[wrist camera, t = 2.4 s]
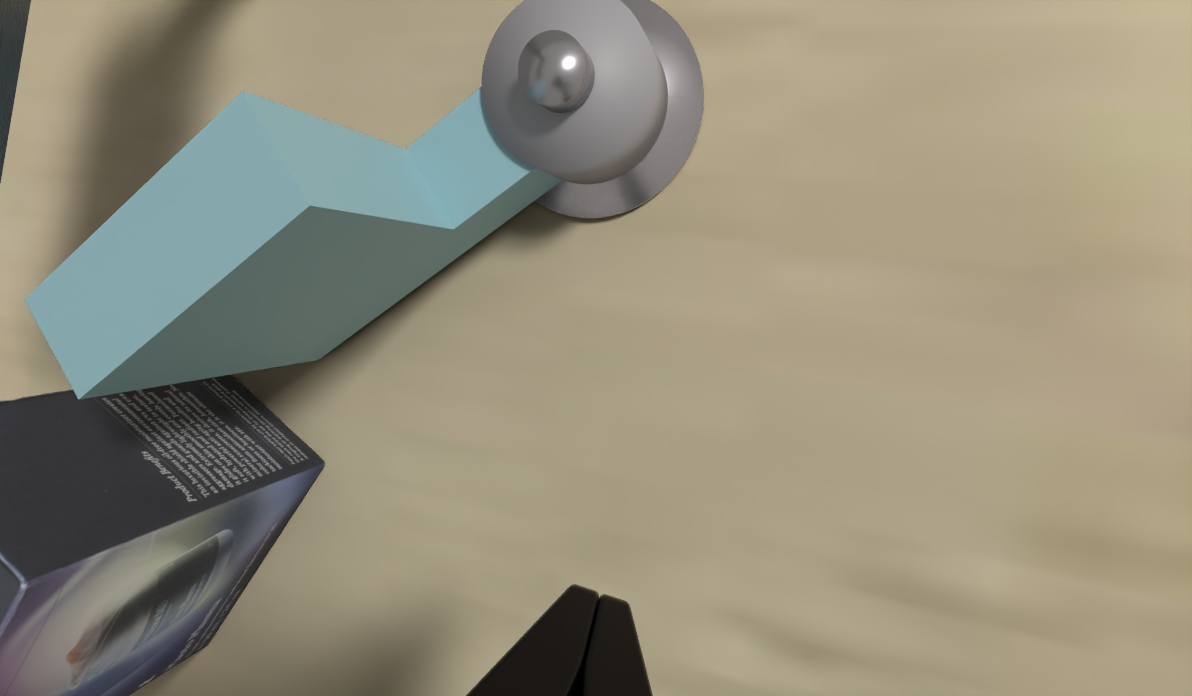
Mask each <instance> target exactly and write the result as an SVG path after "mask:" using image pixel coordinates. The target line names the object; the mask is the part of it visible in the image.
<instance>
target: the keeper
mask: <svg viewBox="0 0 1192 696" xmlns="http://www.w3.org/2000/svg"><path fill="white" fill-rule="evenodd" d="M30 3H31V0H0V182H1V176H2V170H3V164H4V158H5V152H6V146H7V140H8V134H9V128H10V122H11V116H12V110H13V104H14V98H15V92H16V86H17V80H18V74H19V68H20V62H21V56H22V50H23V44H24V38H25V32H26V26H27V20H28V15H29V9H30Z"/></svg>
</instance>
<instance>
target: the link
mask: <svg viewBox="0 0 1192 696" xmlns="http://www.w3.org/2000/svg"><path fill="white" fill-rule="evenodd" d="M548 30H560V31H564V32H566V33H568V34H570V35H571V36H573V37H574V38H575V39H576V40H577V41H578V43H579V44H580V45H581V46H582V47H583V48H584V50H585V51H586V52H587V53H588V55H589V56H590V58H591V60H592V62H593V65H594V70H595V80H594V85H593V88H592V91H591V93H590V95H589V97H588V98H587V99H586V101H585V102H584V103H583V104H582V105H580V106H579V107H578V108H576V109H574V110H572V111H569V112H565V113H555V112H551V111H549V110H547V109H545V108H544V107H542V106H541V105H540V104H538V103H537V102H536V101H534V100H533V99H532V98H530V97H529V96H528V95H527V94H526V93H525V91H524V90H523V88H522V86H521V84H520V81H519V77H518V62H519V58H520V55H521V53H522V51H523V49H524V47H525V46H526V44H527V43H528V42H529V41H530V40H531V39H532V38H533V37H534V36H536V35H537V34H539V33H541V32H544V31H548ZM667 107H668V88H667V81H666V76H665V72H664V70H663V67H662V64H661V62H660V60H659V58H658V56H657V55H656V53H655V51H654V49H653V47H652V45H651V43H650V42H649V40H648V38H647V36H646V34H645V32H644V31H643V29H642V27H641V25H640V23H639V21H638V20H637V18H636V17H635V16H634V14H633V13H632V12H631V10H630V9H629V8H628V7H627V6H626V5H625V4H624V3H623V2H621V1H620V0H525V1H523V2H522V3H521V4H519V5H518V6H517V7H516V8H515V9H514V10H513V11H512V12H511V13H510V14H509V15H508V16H507V17H506V18H505V20H504V21H503V22H502V23H501V25H500V26H499V28H498V30H497V31H496V33H495V35H494V37H493V39H492V41H491V43H490V45H489V48H488V51H487V54H486V57H485V61H484V65H483V72H482V87H480V88H479V89H478V90H477V91H476V92H474V93H473V94H472V95H471V96H469V97H468V98H467V99H466V100H465V101H463V102H462V103H461V104H460V105H459V106H457V107H456V108H455V109H454V110H452V111H451V112H450V113H449V114H448V115H446V116H445V117H444V118H443V119H442V120H440V121H439V122H438V123H437V124H436V125H434V126H433V127H432V128H431V129H429V130H428V131H427V132H426V133H425V134H423V135H422V136H421V137H420V138H419V139H417V140H416V141H415V142H414V143H412V144H411V145H410V146H409V147H408V148H406V149H404V148H401V147H398V146H396V145H393V144H390V143H387V142H384V141H382V140H379V139H376V138H373V137H370V136H368V135H365V134H362V133H359V132H356V131H354V130H351V129H348V128H345V127H343V126H340V125H337V124H334V123H331V122H329V121H326V120H323V119H320V118H317V117H315V116H312V115H309V114H306V113H304V112H301V111H298V110H295V109H292V108H290V107H287V106H284V105H281V104H278V103H276V102H273V101H270V100H267V99H265V98H262V97H259V96H256V95H253V94H251V93H248V92H245V91H242V92H241V93H240V94H239V95H238V96H237V97H236V98H235V99H234V100H233V101H232V102H230V103H229V104H228V105H227V106H226V107H225V108H224V109H223V110H222V111H221V112H220V113H219V114H218V115H217V116H216V117H215V118H214V119H213V120H212V121H211V122H209V123H208V124H207V125H206V126H205V127H204V128H203V129H202V130H201V131H200V132H199V133H198V134H197V135H196V136H195V137H194V138H193V139H192V140H191V141H190V142H189V143H187V144H186V145H185V146H184V147H183V148H182V149H181V150H180V151H179V152H178V153H177V154H176V155H175V156H174V157H173V158H172V159H171V160H170V161H169V162H168V163H166V164H165V165H164V166H163V167H162V168H161V169H160V170H159V171H158V172H157V173H156V174H155V175H154V176H153V177H152V178H151V179H150V180H149V181H148V182H147V183H146V184H144V185H143V186H142V187H141V188H140V189H139V190H138V191H137V192H136V193H135V194H134V195H133V196H132V197H131V198H130V199H129V200H128V201H127V202H126V203H125V204H123V205H122V206H121V207H120V208H119V209H118V210H117V211H116V212H115V213H114V214H113V215H112V216H111V217H110V218H109V219H108V220H107V221H106V222H105V223H104V224H103V225H101V226H100V227H99V228H98V229H97V230H96V231H95V232H94V233H93V234H92V235H91V236H90V237H89V238H88V239H87V240H86V241H85V242H84V243H83V244H82V245H81V246H79V247H78V248H77V249H76V250H75V251H74V252H73V253H72V254H71V255H70V256H69V257H68V258H67V259H66V260H65V261H64V262H63V263H62V264H61V265H60V266H58V267H57V268H56V269H55V270H54V271H53V272H52V273H51V274H50V275H49V276H48V277H47V278H46V279H45V280H44V281H43V282H42V283H41V284H40V285H39V286H38V287H36V288H35V289H34V290H33V291H32V292H31V293H30V294H29V295H28V296H27V297H26V298H25V299H24V300H25V302H26V304H27V306H28V308H29V310H30V311H31V313H32V315H33V317H34V319H35V321H36V322H37V324H38V326H39V328H40V330H41V332H42V333H43V335H44V337H45V339H46V341H47V343H48V344H49V346H50V348H51V350H52V352H53V354H54V355H55V357H56V359H57V361H58V363H59V365H60V366H61V368H62V370H63V372H64V374H65V376H66V377H67V379H68V381H69V383H70V385H71V387H72V388H73V390H74V392H75V394H76V396H77V398H78V399H85V398H91V397H97V396H103V395H110V394H116V393H122V392H128V391H134V390H140V389H146V388H152V387H158V386H164V385H170V384H176V383H182V382H188V381H194V380H200V379H206V378H212V377H218V376H224V375H230V374H236V373H243V372H249V371H255V370H261V369H267V368H273V367H279V366H285V365H291V364H297V363H303V362H309V361H315V360H319V359H320V358H322V357H323V356H324V355H326V354H327V353H329V352H330V351H331V350H333V349H334V348H335V347H337V346H338V345H339V344H341V343H342V342H343V341H345V340H346V339H348V338H349V337H350V336H352V335H353V334H354V333H356V332H357V331H358V330H360V329H361V328H362V327H364V326H365V325H367V324H368V323H369V322H371V321H372V320H373V319H375V318H376V317H377V316H379V315H380V314H381V313H383V312H384V311H386V310H387V309H388V308H390V307H391V306H392V305H394V304H395V303H396V302H398V301H399V300H400V299H402V298H403V297H405V296H406V295H407V294H409V293H410V292H411V291H413V290H414V289H415V288H417V287H418V286H419V285H421V284H422V283H424V282H425V281H426V280H428V279H429V278H430V277H432V276H433V275H434V274H436V273H437V272H438V271H440V270H441V269H443V268H444V267H445V266H447V265H448V264H449V263H451V262H452V261H453V260H455V259H456V258H457V257H459V256H460V255H462V254H463V253H464V252H466V251H467V250H468V249H470V248H471V247H472V246H474V245H475V244H476V243H478V242H479V241H481V240H482V239H483V238H485V237H486V236H487V235H489V234H490V233H491V232H493V231H494V230H496V229H497V228H498V227H500V226H501V225H502V224H504V223H505V222H506V221H508V220H509V219H510V218H512V217H513V216H515V215H516V214H517V213H519V212H520V211H521V210H523V209H524V208H525V207H527V206H528V205H529V204H531V203H532V202H534V201H535V200H536V199H538V198H539V197H540V196H542V195H543V194H544V193H546V192H547V191H548V190H550V189H551V188H553V187H554V186H555V185H557V184H558V183H559V182H561V181H562V180H564V181H567V182H571V183H576V184H598V183H604V182H607V181H610V180H613V179H615V178H618V177H620V176H622V175H624V174H625V173H627V172H628V171H630V170H632V169H633V168H634V167H635V166H636V165H638V164H639V163H640V162H641V161H642V160H643V159H644V158H645V157H646V156H647V154H648V153H649V152H650V150H651V149H652V148H653V146H654V144H655V143H656V141H657V139H658V137H659V135H660V133H661V130H662V128H663V125H664V122H665V118H666V113H667Z"/></svg>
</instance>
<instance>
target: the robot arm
mask: <svg viewBox="0 0 1192 696" xmlns="http://www.w3.org/2000/svg"><path fill="white" fill-rule="evenodd" d="M466 696H653V695H652V691H651V687H650V683H649V679H648V675H647V671H646V667H645V663H644V659H643V656H642V652H641V648H640V644H639V640H638V636H637V632H636V628H635V624H634V620H633V616H632V612H631V608H630V606H629V604H628V603H627V602H626V601H624V600H621V599H618V598H615V597H612V596H609V595H606V594H604V595H601V596H600V598H599V594H598V593H597V592H596V591H594V590H591V589H588V588H585V587H582V586H579V585H575V584H574V585H571V586H570V587H569V588H568V589H567V590H566V591H565V592H564V593H563V594H562V595H561V596H560V597H559V598H558V599H557V600H556V601H555V602H554V603H553V604H552V605H551V607H550V608H549V609H548V610H547V611H546V612H545V613H544V614H543V615H542V616H541V617H540V618H539V619H538V620H537V621H536V622H535V623H534V624H533V626H532V627H531V628H530V629H529V630H528V631H527V632H526V633H525V634H524V635H523V636H522V637H521V638H520V639H519V640H518V641H517V642H516V643H515V645H514V646H513V647H512V648H511V649H510V650H509V651H508V652H507V653H506V654H505V655H504V656H503V657H502V658H501V659H500V660H499V661H498V662H497V664H496V665H495V666H494V667H493V668H492V669H491V670H490V671H489V672H488V673H487V674H486V675H485V676H484V677H483V678H482V679H481V680H480V681H479V682H478V684H477V685H476V686H475V687H474V688H473V689H472V690H471V691H470V692H469V693H468V694H467V695H466Z"/></svg>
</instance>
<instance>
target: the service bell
mask: <svg viewBox="0 0 1192 696" xmlns="http://www.w3.org/2000/svg"><path fill="white" fill-rule="evenodd" d="M620 1H621V2H623V3H624V4H625V5H626V6H627V7H628V8H629V9H630V10H631V12H632V13H633V14H634V16H635V17H636V18H637V20H638V21H639V23H640V25H641V27H642V29H643V31H644V32H645V34H646V36H647V38H648V40H649V42H650V43H651V45H652V47H653V49H654V51H655V53H656V55H657V56H658V58H659V60H660V62H661V64H662V67H663V70H664V72H665V76H666V81H667V88H668V107H667V113H666V118H665V122H664V125H663V128H662V130H661V133H660V135H659V137H658V139H657V141H656V143H655V144H654V146H653V148H652V149H651V150H650V152H649V153H648V154H647V156H646V157H645V158H644V159H643V160H642V161H641V162H640V163H639V164H638V165H636V166H635V167H634V168H633V169H632V170H630V171H628V172H627V173H625V174H624V175H622V176H620V177H618V178H615V179H613V180H610V181H607V182H604V183H598V184H576V183H571V182H567V181H564V180H562V181H561V182H559V183H558V184H557V185H555V186H554V187H553V188H551V189H550V190H548V191H547V192H546V193H544V194H543V195H542V196H540V197H539V198H538V199H536V200H535V201H536V202H537V203H539V204H540V205H542V206H543V207H546V208H548V209H550V210H552V211H554V212H557V213H560V214H564V215H567V216H571V217H578V218H604V217H611V216H615V215H618V214H622V213H625V212H628V211H630V210H632V209H635V208H637V207H639V206H641V205H642V204H644V203H646V202H647V201H649V200H651V199H652V198H653V197H654V196H656V195H657V194H658V193H660V192H661V191H662V190H663V189H664V188H665V187H666V186H667V185H668V184H669V183H670V182H671V181H672V180H673V179H674V177H675V176H676V175H677V174H678V172H679V171H680V170H681V168H682V167H683V165H684V164H685V162H686V160H687V158H688V157H689V155H690V153H691V151H692V149H693V146H694V144H695V142H696V139H697V136H698V132H699V129H700V126H701V120H702V114H703V103H704V90H703V79H702V74H701V70H700V65H699V62H698V59H697V57H696V54H695V51H694V48H693V46H692V45H691V43H690V41H689V39H688V37H687V35H686V34H685V32H684V31H683V30H682V28H681V27H680V25H679V24H678V23H677V22H676V21H675V20H674V19H673V18H672V17H671V16H670V15H669V14H668V13H667V12H666V11H665V10H663V9H662V8H661V7H659V6H658V5H657V4H655V3H653V2H652V1H650V0H620ZM518 77H519V81H520V84H521V86H522V88H523V90H524V91H525V93H526V94H527V95H528V96H529V97H530V98H532V99H533V100H534V101H536V102H537V103H538V104H540V105H541V106H542V107H544V108H545V109H547V110H549V111H551V112H555V113H565V112H569V111H572V110H574V109H576V108H578V107H579V106H580V105H582V104H583V103H584V102H585V101H586V99H587V98H588V97H589V95H590V93H591V91H592V88H593V85H594V80H595V70H594V65H593V62H592V60H591V58H590V56H589V55H588V53H587V52H586V51H585V50H584V48H583V47H582V46H581V45H580V44H579V43H578V41H577V40H576V39H575V38H574V37H573V36H571V35H570V34H568V33H566V32H564V31H560V30H548V31H544V32H541V33H539V34H537V35H536V36H534V37H533V38H532V39H531V40H530V41H529V42H528V43H527V44H526V46H525V47H524V49H523V51H522V53H521V55H520V58H519V62H518Z"/></svg>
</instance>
